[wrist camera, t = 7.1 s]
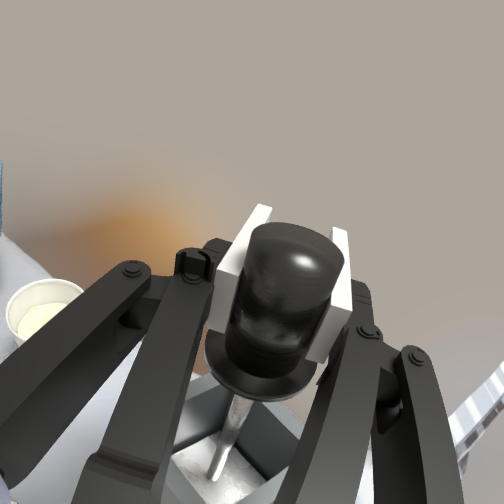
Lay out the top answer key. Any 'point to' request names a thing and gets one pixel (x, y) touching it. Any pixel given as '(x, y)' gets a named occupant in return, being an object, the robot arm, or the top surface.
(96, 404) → the top surface
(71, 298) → the candle holder
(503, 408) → the top surface
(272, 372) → the plunger
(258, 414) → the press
